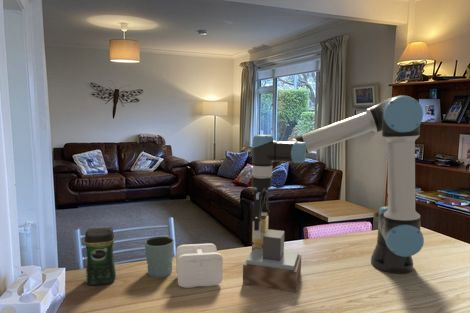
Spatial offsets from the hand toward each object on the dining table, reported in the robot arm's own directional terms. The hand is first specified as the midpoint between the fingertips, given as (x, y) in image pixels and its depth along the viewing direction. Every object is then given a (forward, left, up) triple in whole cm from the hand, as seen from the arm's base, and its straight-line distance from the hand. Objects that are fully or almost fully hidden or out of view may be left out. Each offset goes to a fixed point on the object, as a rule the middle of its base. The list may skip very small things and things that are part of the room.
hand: (260, 233), depth 143 cm
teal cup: (+33, +18, -13) cm, 40 cm away
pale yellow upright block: (0, +1, -4) cm, 4 cm away
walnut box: (-7, +6, -13) cm, 15 cm away
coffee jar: (+49, +30, -13) cm, 59 cm away
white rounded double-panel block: (+17, +20, -13) cm, 29 cm away
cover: (-7, +10, -6) cm, 13 cm away
